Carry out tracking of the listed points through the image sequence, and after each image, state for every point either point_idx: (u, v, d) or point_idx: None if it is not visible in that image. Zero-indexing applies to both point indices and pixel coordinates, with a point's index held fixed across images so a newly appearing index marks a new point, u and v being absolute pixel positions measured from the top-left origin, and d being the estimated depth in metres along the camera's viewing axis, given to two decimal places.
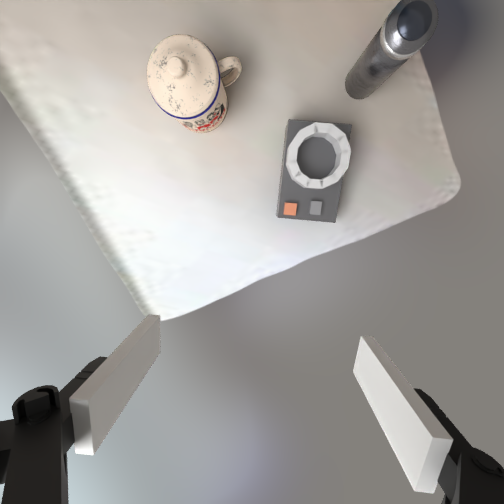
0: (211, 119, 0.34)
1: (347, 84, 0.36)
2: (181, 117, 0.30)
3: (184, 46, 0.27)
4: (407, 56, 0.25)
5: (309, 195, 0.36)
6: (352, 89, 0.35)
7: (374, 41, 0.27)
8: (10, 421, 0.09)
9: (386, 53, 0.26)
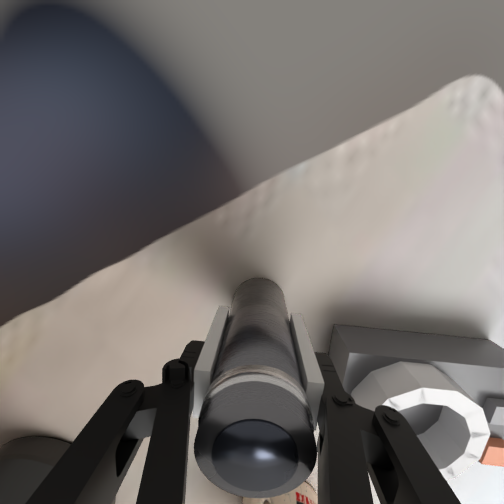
0: None
1: None
2: None
3: None
4: None
5: None
6: None
7: None
8: (150, 387, 0.11)
9: None
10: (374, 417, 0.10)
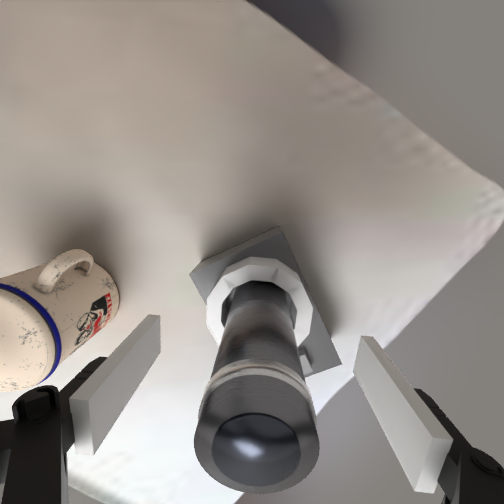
0: (90, 331, 0.22)
1: None
2: (32, 385, 0.19)
3: None
4: None
5: None
6: None
7: None
8: (10, 421, 0.09)
9: None
10: None
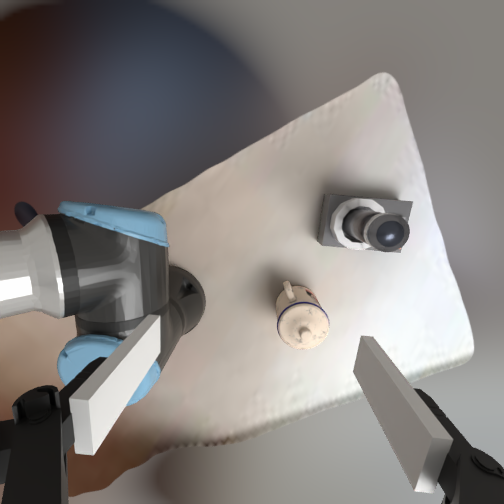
0: None
1: None
2: (328, 329, 0.42)
3: (288, 326, 0.40)
4: None
5: None
6: None
7: None
8: (10, 421, 0.09)
9: None
10: None
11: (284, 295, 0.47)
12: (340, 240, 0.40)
